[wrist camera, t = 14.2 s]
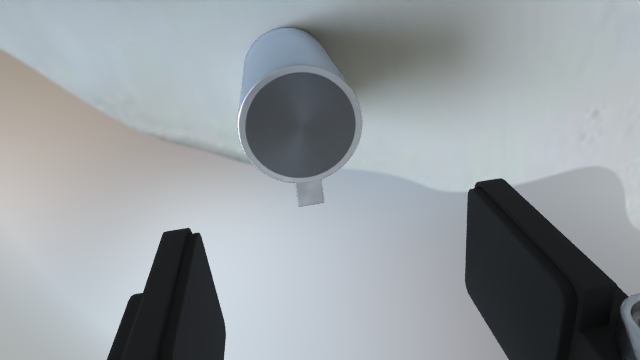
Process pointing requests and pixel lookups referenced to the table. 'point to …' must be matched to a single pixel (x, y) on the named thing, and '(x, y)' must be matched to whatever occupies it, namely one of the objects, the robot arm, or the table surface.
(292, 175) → the measuring cup
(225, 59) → the table surface
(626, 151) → the table surface
